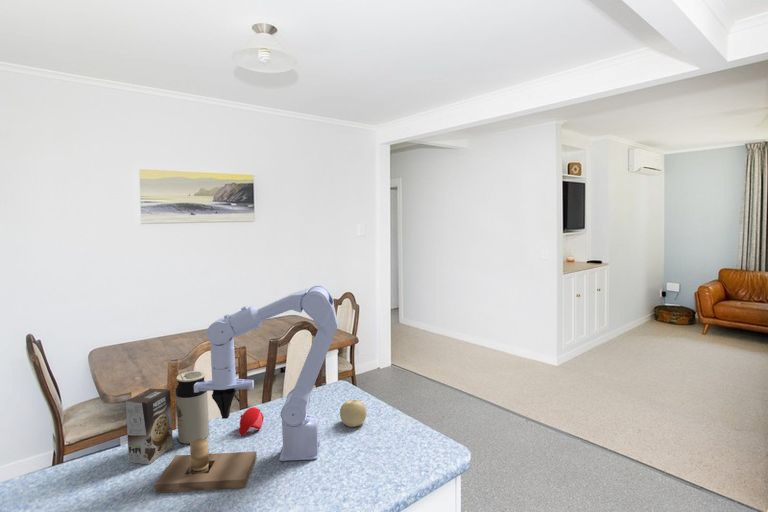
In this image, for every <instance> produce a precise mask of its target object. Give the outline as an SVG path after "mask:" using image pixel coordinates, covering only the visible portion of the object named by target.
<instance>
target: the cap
mask: <svg viewBox="0 0 768 512" xmlns="http://www.w3.org/2000/svg"><path fill="white" fill-rule="evenodd" d="M239 417H240V419H239V429H238V433H239V435H240V436H244V435H246V434H247V433H248V432H249V429H251V428H254V430H257V431H260V430H261V428H262V425H263V423H264V414H263V413H262V412H261V410H260V408H258V407H249V408H247V410H245V411H244V412H243V414H240V416H239Z"/></svg>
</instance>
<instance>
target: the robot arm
mask: <svg viewBox="0 0 768 512" xmlns="http://www.w3.org/2000/svg"><path fill="white" fill-rule="evenodd" d="M289 311H294V312H297V313H302V312H303V311H304V312H305V313H306V315H307V316H308V317H310V318H311V319H312V320H313V322H314V325H316V328H317V331H316V334H315V335H314V339H313V341H312V344H311V346H310V348H309V351H308V353H307V356H306V358H305V361H304V363H303V366H302V368H301V371H300V372H299V375H298V377H297V380H296V382H295V385H294V387H293V388H292V389H291V390H290V391H289V392H288V394H287V396H286V399H285V402H284V404H283V406H282V408H281V410H280V418H281V427H282V429H281V430H282V431H281V432H282V433H281V434H282V449H281V453H280V456H279V461H280V462H285V461H286V462H287V461H288V462H291V461H306V460H308V461H309V460H317V459H318V455H319V448H320V444H321V443H320V442H321V441H320V437H319V436H320V434H319V430H320V429H319V418H317V417H311V414H310V413H309V411H308V407H309V405H310V402H311V394H312V391H313V389H314V386H315V383H316V381H317V378H318V376H319V374H320V371H321V369H322V366H323V364H324V361H325V360H326V357H327V355H328V352H329V349H330V348H331V344H332V342H333V340H334V338H335V335H336V333H337V330H338V324H339V323H338V318H337V313H336V309H335V303H334V298H333V297H332V295H331V293H330V292H329V290H328V289H327V288H326V287H324V286H322V285H314V286H312V287H310V288H304V289H302V290H301V289H300V290H299V291H295V292H293V293H290V294H288V295H286V296H283V297H281V298H279V299H277V300H275V301H273V302H270V303H268V304H267V305H264V306H262V307H256V306H254V305H253V306H252V305H251V306H249V307H248V306H247V305H244V306H243V307H241V308H240V310H239V311H237V312H234V313H232V314H229V313H227V314H225V315H223V317H220V318H219V319H216V320H215V321H214V322H213V323H211V324H210V325H209V326H208V327H207V330H206V338H207V340H208V342H209V343H210V367H211V380H204V381H205V382H196V383H195V384H194V392H199V391H207V392H211V391H212V394H211V398H212V399H213V400H214V403H215V404H216V405H217V408H218V410H219V412H220V415H221V416H220V417H221V419H224V420H225V419H228V418H229V416H230V413H231V407H232V402H233V400H234V397H235V395H236V393H237V390H249V391H253V390H254V388H255V380H254V379H244V378H243V379H242V378H237V377H236V376H237V375H236V358H235V357H236V356H235V355H236V354H235V353H236V352H235V350H236V349H235V342H234V339H235V338H234V337H239V336H242V335H244V334H247V333H249V332H251V331H253V330H255V329H258V328H260V327H261V326H262V324H263V321H264V320H268V319H270V318H272V317H275V316H278V315H280V314H283V313H287V312H289Z"/></svg>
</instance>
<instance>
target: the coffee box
mask: <svg viewBox="0 0 768 512" xmlns="http://www.w3.org/2000/svg"><path fill="white" fill-rule="evenodd" d="M125 409H126V411H125V412H126V413H125V414H126V433H127V449H128V450H127V452H128V454H127V456H128V462H129V463H135V464H143V465H151V464H152V463H153V462H155V461H156V460H157V459H159V458H160V457H161V456H163V455H164V454H165V453H166V452H168V451H169V450H170V449H172V448H173V447H174V441H173V422H172V400H171V389H169V388H167V389H166V388H153V387H152V388H148V389H147V390H144V391H143V392H141V393H139V394H137V395H134V396H132V397H131V398H130V399H129V398H128V399H127V400H126V401H125Z"/></svg>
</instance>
